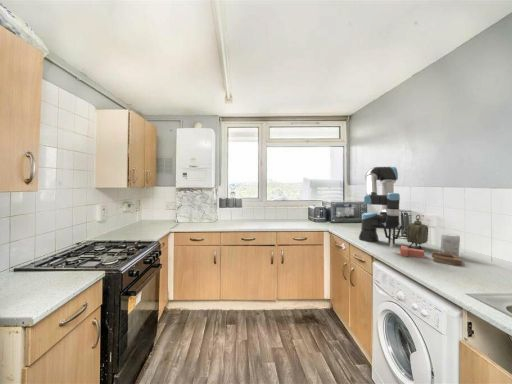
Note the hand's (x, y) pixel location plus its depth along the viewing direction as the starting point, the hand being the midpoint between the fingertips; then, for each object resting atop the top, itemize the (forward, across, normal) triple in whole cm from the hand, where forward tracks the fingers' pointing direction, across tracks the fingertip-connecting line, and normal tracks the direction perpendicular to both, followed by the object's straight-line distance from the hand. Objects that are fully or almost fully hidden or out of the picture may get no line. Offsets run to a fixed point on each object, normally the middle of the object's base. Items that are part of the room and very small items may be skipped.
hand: (391, 248), depth 161 cm
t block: (+3, +12, 0) cm, 12 cm away
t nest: (+3, +30, 0) cm, 30 cm away
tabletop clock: (+3, +16, +25) cm, 30 cm away
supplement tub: (+3, +33, +14) cm, 36 cm away
